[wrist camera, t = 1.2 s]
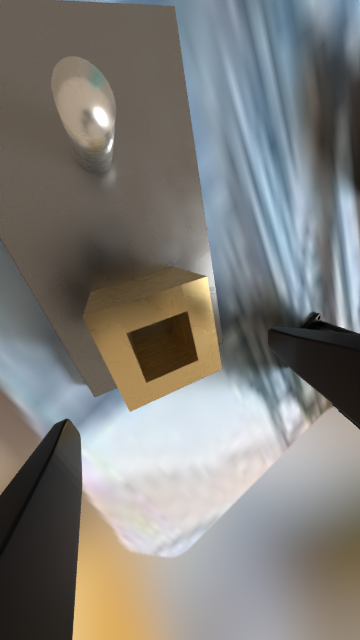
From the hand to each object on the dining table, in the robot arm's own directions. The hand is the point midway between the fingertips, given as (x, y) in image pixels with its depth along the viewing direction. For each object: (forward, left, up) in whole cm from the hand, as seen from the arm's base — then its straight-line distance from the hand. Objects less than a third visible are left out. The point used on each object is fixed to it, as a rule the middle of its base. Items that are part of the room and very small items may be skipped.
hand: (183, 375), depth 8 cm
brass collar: (0, 0, -7) cm, 7 cm away
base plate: (-2, -4, -9) cm, 10 cm away
